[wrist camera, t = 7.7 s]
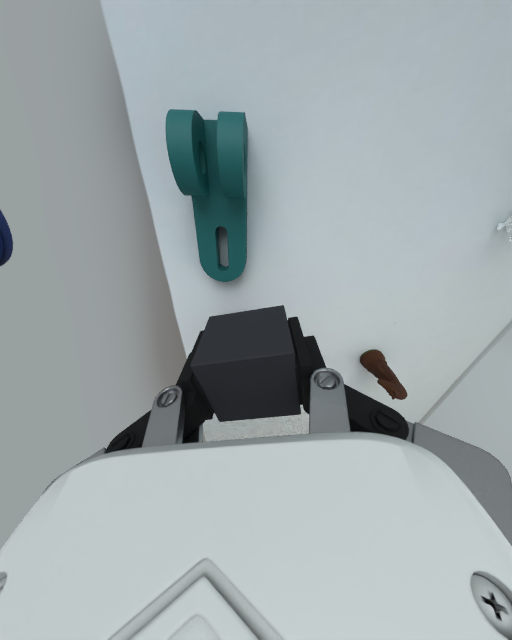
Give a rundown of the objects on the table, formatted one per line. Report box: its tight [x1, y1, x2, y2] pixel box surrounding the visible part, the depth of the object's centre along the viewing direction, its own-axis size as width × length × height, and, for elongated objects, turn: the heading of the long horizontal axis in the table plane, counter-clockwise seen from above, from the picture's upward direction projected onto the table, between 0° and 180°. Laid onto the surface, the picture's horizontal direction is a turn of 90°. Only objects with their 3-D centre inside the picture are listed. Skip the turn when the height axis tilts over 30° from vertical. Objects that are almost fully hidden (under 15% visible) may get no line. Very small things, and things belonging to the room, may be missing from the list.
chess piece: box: [360, 350, 407, 400], centre depth 37 cm, size 5×5×10 cm
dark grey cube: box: [190, 305, 301, 422], centre depth 11 cm, size 4×4×4 cm
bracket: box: [166, 109, 247, 282], centre depth 24 cm, size 18×7×8 cm, turn 178°
